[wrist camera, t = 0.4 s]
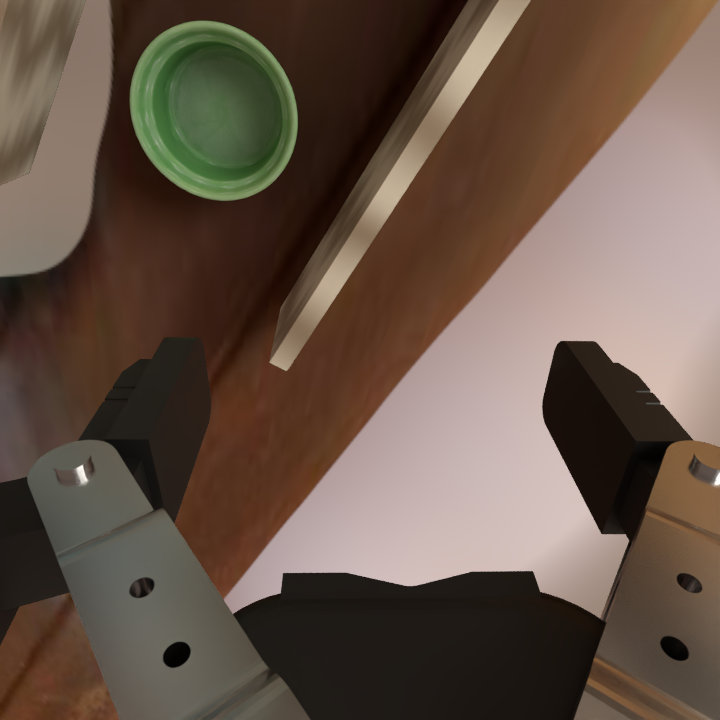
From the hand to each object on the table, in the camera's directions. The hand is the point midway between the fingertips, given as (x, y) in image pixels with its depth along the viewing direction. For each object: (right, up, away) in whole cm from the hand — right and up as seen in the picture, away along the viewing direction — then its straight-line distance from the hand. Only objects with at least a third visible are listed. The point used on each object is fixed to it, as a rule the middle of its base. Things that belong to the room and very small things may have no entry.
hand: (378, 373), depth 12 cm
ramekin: (-9, +16, +21) cm, 28 cm away
